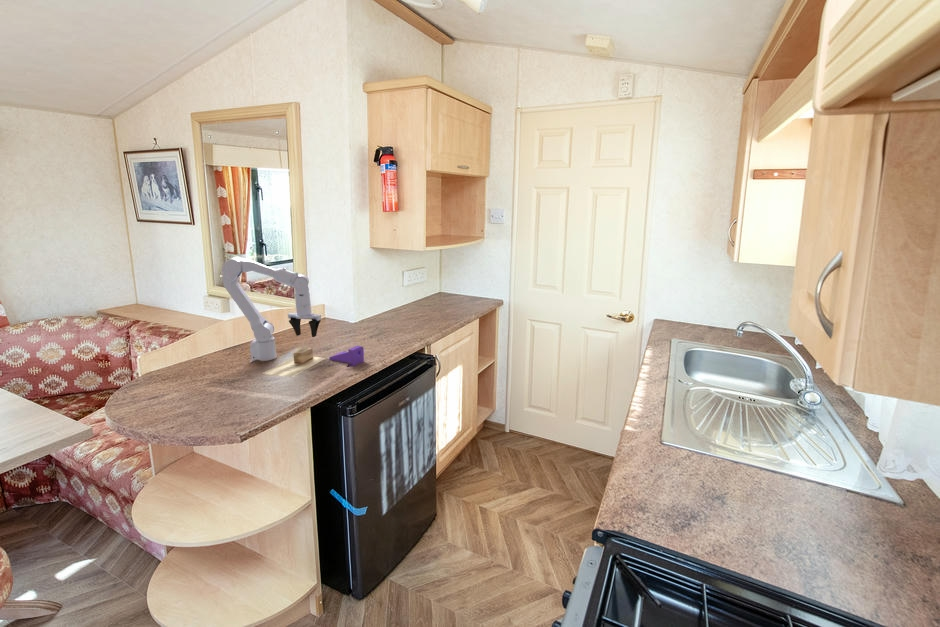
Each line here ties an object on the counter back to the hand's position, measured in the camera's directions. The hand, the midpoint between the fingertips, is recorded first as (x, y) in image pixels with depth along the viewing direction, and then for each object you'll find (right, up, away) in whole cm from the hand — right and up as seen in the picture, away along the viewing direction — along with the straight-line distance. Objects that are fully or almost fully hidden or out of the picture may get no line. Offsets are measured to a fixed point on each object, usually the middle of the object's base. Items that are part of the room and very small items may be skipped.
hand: (306, 335), depth 201 cm
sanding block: (+1, -10, -6) cm, 11 cm away
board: (-1, -12, -11) cm, 16 cm away
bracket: (+18, -10, -4) cm, 21 cm away
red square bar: (+9, -9, 0) cm, 13 cm away
